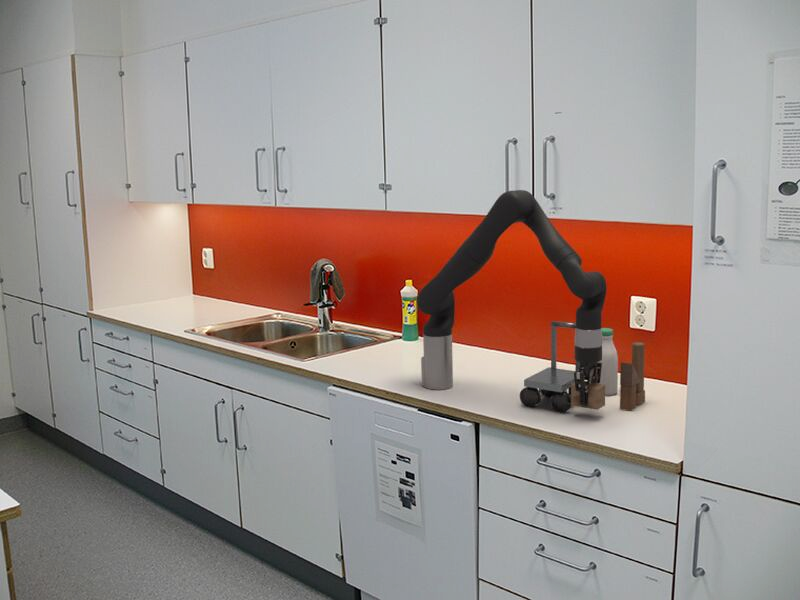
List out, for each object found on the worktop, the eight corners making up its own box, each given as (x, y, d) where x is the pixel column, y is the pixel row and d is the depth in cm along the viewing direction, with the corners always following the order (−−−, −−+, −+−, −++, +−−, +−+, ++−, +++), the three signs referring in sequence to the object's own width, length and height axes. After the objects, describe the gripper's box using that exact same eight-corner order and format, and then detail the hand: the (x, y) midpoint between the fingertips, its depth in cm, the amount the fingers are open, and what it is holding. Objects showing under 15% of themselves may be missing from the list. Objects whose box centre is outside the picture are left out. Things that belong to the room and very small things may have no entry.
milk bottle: (622, 392, 261) (623, 328, 258) (608, 397, 256) (609, 333, 253) (600, 387, 267) (601, 325, 263) (586, 393, 262) (587, 329, 258)
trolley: (518, 406, 250) (517, 329, 246) (542, 392, 263) (543, 319, 259) (568, 415, 241) (568, 335, 237) (591, 400, 254) (592, 324, 250)
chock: (571, 405, 239) (571, 384, 238) (578, 400, 243) (578, 380, 242) (597, 410, 235) (598, 389, 234) (605, 405, 239) (605, 384, 238)
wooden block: (619, 409, 245) (620, 348, 242) (633, 399, 254) (634, 341, 250) (631, 411, 243) (633, 350, 240) (645, 401, 251) (646, 342, 248)
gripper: (586, 336, 244) (585, 394, 247) (564, 347, 232) (564, 407, 235) (611, 339, 239) (610, 397, 242) (590, 350, 228) (589, 411, 231)
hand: (587, 402), depth 239 cm, fingers closed on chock, 5 cm apart
